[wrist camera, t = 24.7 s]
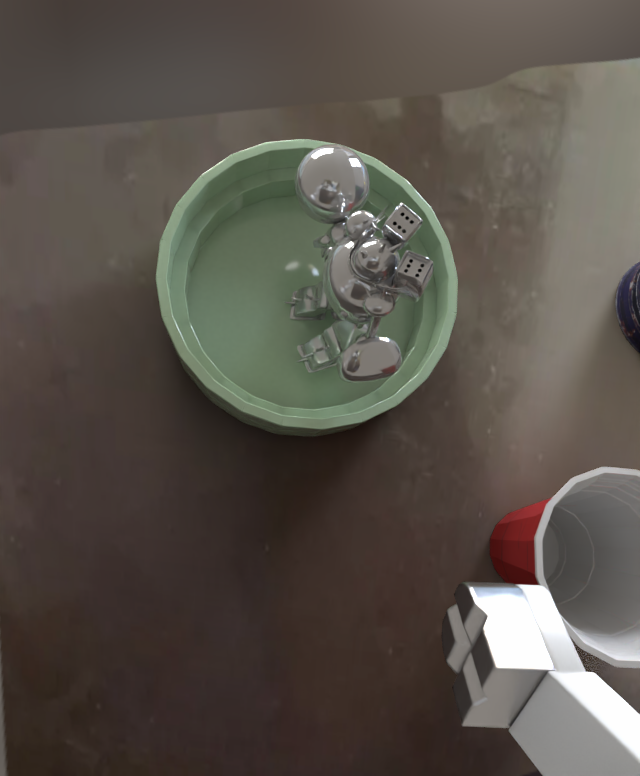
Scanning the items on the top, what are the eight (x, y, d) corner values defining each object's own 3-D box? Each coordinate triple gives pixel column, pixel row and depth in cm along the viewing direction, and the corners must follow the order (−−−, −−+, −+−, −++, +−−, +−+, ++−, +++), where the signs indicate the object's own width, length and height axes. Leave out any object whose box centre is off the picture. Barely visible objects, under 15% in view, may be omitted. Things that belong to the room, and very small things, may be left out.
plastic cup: (576, 466, 45) (696, 455, 34) (603, 610, 43) (740, 652, 32) (444, 481, 43) (524, 476, 32) (467, 633, 42) (560, 686, 30)
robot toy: (267, 222, 44) (285, 88, 30) (344, 212, 45) (398, 79, 31) (305, 409, 42) (345, 364, 28) (385, 394, 43) (464, 343, 29)
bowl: (149, 424, 41) (137, 413, 35) (182, 163, 45) (175, 118, 39) (427, 447, 44) (454, 440, 38) (434, 200, 48) (460, 162, 42)
